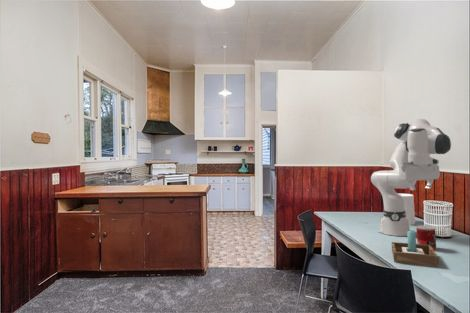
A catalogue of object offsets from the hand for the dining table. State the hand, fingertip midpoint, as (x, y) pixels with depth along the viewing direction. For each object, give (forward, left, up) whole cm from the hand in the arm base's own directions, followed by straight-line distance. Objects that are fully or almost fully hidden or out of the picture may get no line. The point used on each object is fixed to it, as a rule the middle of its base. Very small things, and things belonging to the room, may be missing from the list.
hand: (420, 189), depth 131 cm
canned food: (-8, +2, -31) cm, 32 cm away
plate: (+11, -6, -30) cm, 33 cm away
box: (+11, -6, -31) cm, 33 cm away
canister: (-67, -4, -31) cm, 74 cm away
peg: (+11, -6, -30) cm, 33 cm away
